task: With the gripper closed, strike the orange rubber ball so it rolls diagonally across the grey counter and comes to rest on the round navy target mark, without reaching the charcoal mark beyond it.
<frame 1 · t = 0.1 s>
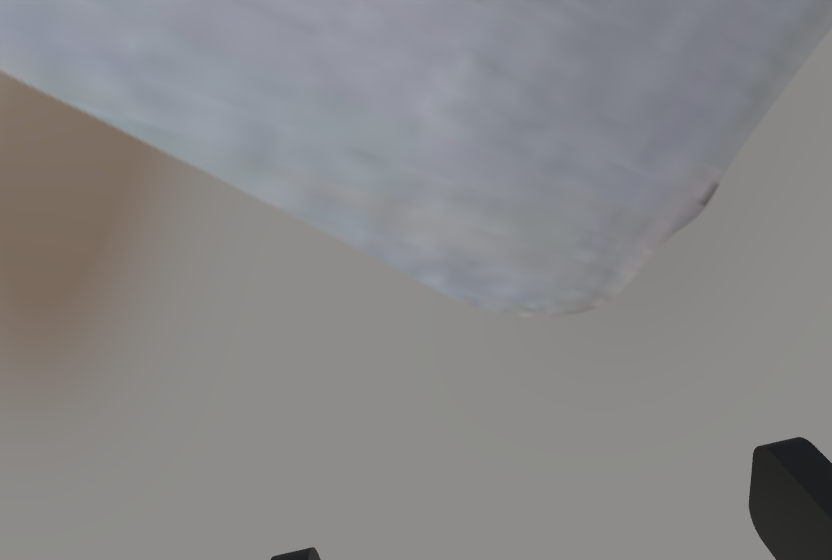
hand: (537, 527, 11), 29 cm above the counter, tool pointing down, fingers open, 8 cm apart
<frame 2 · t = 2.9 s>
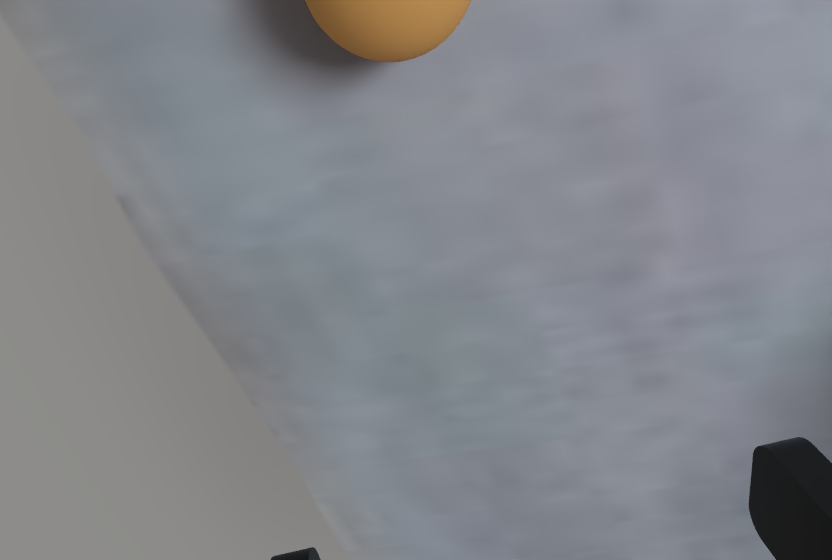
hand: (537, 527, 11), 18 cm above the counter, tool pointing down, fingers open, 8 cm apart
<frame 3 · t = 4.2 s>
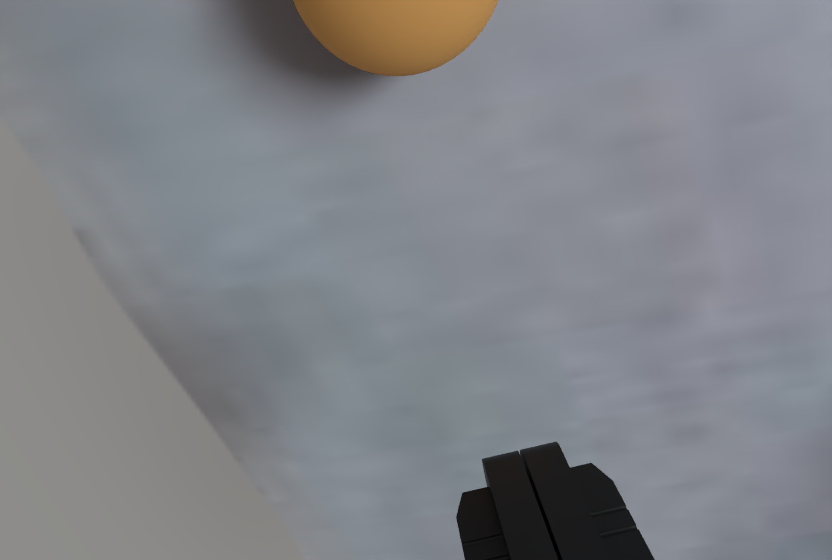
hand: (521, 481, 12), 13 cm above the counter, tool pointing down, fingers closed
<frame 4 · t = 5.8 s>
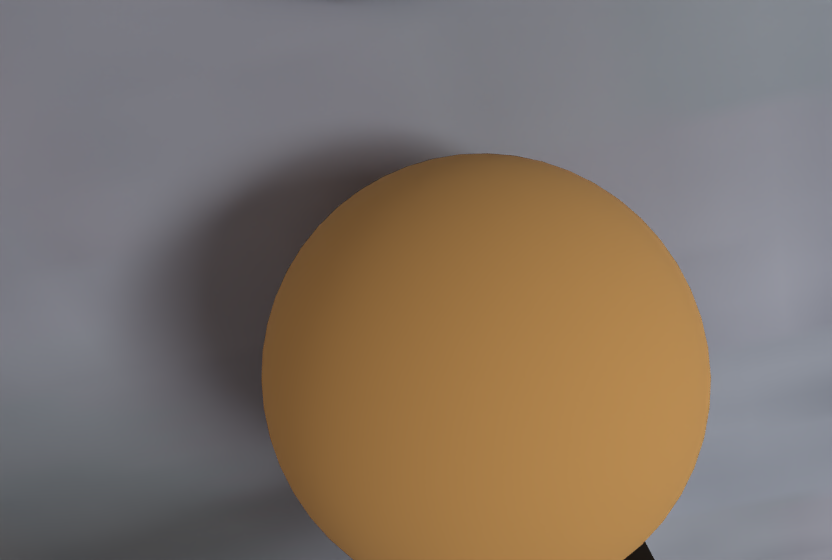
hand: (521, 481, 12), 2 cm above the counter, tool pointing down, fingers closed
ball: (477, 367, 9), on the counter, touching gripper
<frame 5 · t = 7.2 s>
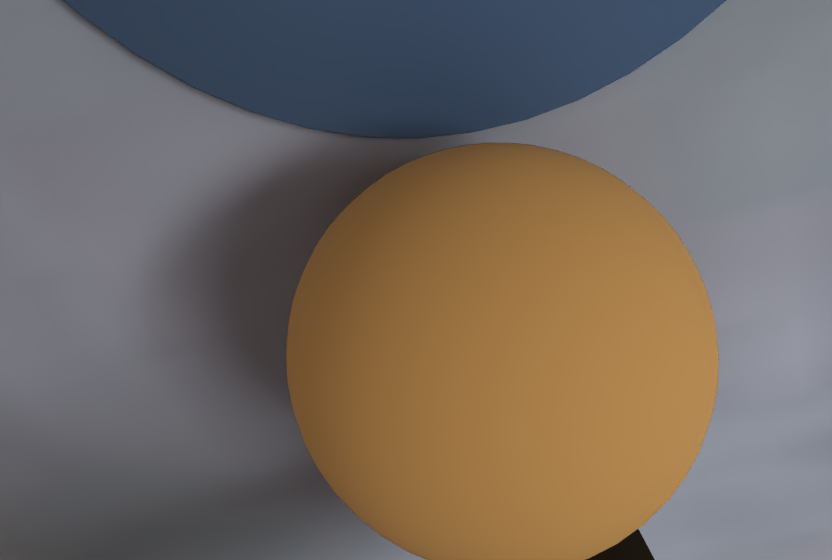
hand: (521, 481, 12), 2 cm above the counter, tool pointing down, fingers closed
ball: (492, 349, 9), on the counter, touching gripper
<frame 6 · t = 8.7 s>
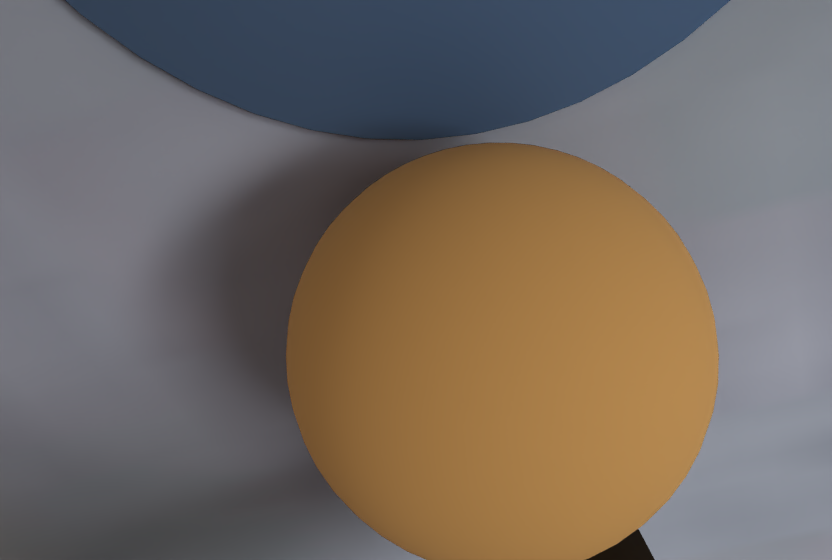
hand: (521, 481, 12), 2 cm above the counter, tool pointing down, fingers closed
ball: (492, 349, 9), on the counter, touching gripper
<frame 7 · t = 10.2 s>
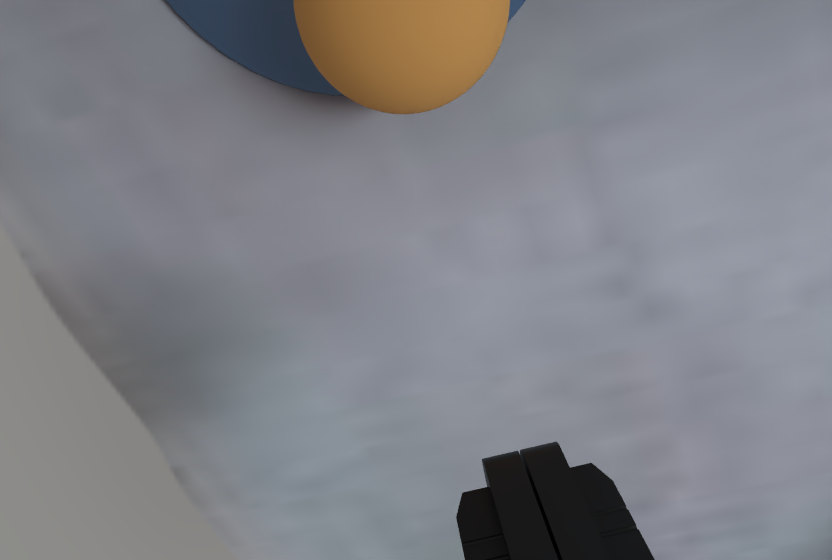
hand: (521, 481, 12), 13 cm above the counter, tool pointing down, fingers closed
ball: (402, 3, 17), on the counter
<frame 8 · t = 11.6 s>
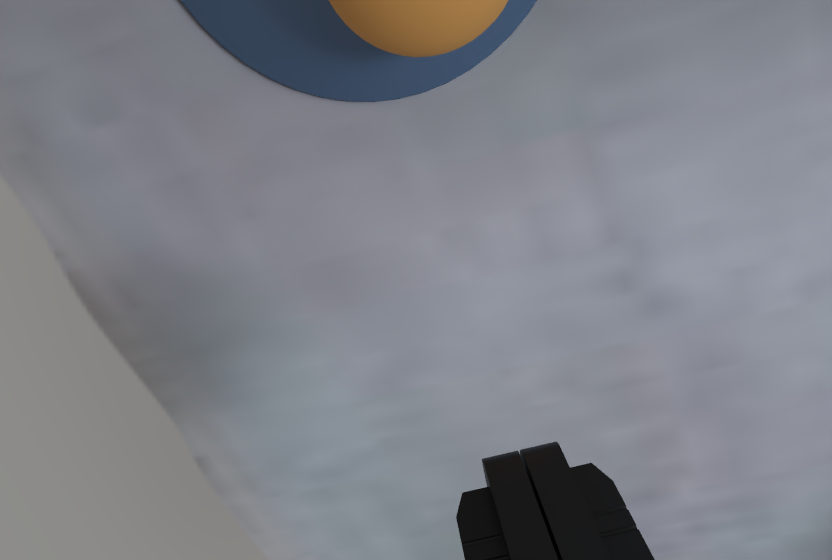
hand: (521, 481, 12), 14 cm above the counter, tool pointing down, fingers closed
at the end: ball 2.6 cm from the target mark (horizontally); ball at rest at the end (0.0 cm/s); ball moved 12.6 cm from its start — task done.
